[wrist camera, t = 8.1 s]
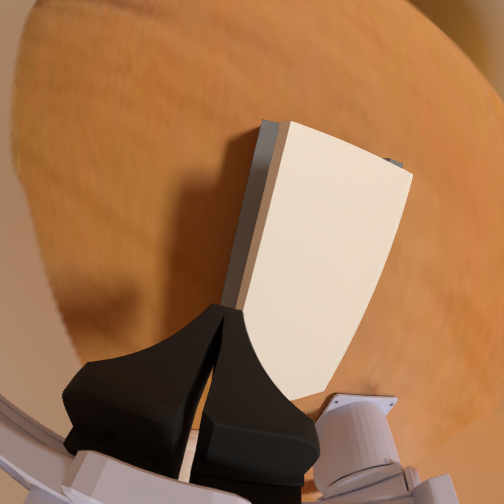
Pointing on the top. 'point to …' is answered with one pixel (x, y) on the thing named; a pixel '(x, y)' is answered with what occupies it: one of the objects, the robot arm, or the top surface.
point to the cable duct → (253, 210)
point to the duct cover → (317, 253)
